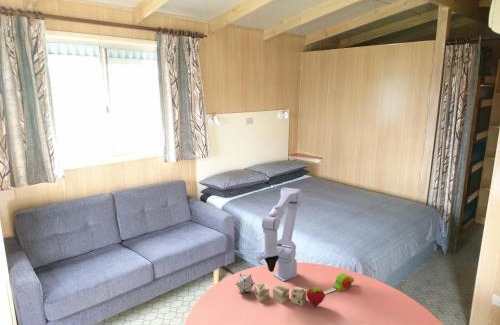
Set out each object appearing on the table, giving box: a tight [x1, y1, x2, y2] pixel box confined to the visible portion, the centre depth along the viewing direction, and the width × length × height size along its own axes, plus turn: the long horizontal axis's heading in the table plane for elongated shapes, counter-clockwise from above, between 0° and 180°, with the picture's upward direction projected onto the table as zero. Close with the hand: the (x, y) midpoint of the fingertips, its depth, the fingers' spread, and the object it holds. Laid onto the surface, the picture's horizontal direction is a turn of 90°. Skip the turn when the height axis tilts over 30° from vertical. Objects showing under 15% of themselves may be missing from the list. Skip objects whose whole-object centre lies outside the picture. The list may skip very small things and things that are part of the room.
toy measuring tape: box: [323, 272, 355, 295], centre depth 157 cm, size 6×19×7 cm, turn 116°
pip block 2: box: [290, 286, 307, 307], centre depth 149 cm, size 5×5×5 cm
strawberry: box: [306, 285, 326, 307], centre depth 144 cm, size 6×8×10 cm
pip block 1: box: [254, 282, 270, 302], centre depth 152 cm, size 5×5×5 cm
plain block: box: [272, 284, 290, 304], centre depth 151 cm, size 5×5×5 cm
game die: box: [235, 273, 256, 294], centre depth 156 cm, size 9×8×10 cm
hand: (271, 270), depth 155 cm, fingers closed
